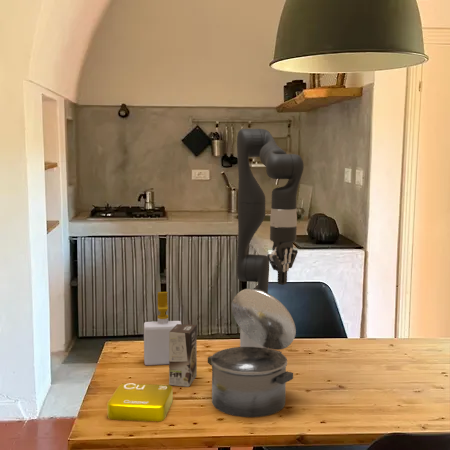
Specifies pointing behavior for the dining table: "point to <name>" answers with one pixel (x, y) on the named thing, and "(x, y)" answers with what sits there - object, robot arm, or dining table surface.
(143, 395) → the element tile
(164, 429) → the dining table surface
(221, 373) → the cooker pot
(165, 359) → the soap bottle
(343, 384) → the dining table surface
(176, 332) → the coffee box
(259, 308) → the cooker lid
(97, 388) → the dining table surface
